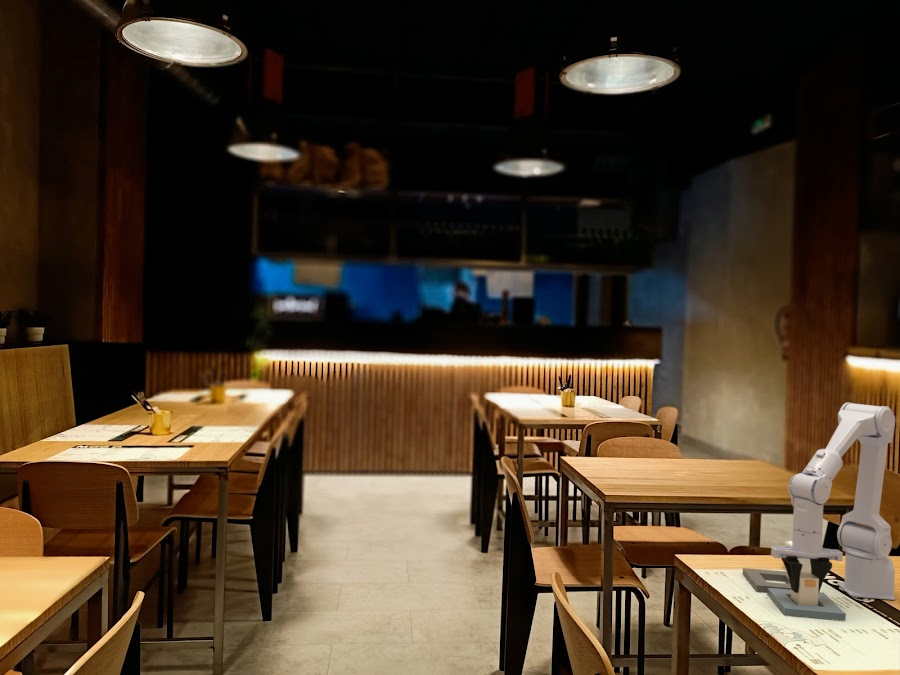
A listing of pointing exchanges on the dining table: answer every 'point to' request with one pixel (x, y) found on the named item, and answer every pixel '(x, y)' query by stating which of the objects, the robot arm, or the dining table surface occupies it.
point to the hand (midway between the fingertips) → (805, 591)
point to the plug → (806, 590)
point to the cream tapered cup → (801, 559)
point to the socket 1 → (760, 576)
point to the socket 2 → (806, 606)
